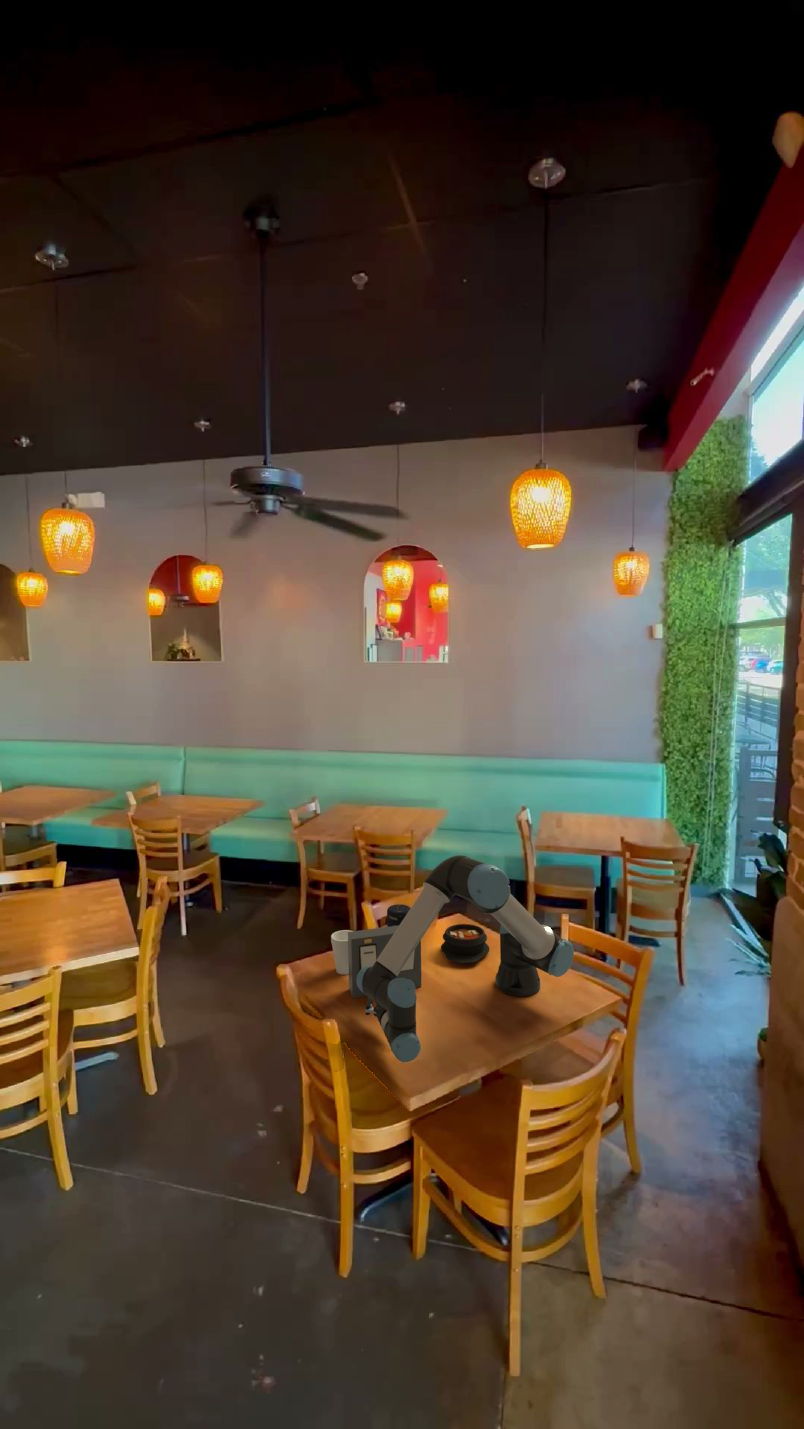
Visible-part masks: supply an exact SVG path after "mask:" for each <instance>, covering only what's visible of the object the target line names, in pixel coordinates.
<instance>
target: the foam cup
mask: <svg viewBox="0 0 804 1429" xmlns="http://www.w3.org/2000/svg"><path fill="white" fill-rule="evenodd" d="M353 931H354V930H350V929H343V930H338V931H335V932H332V934H331V935H330V942H331V946H332V952H333V959H334V965H335V971H336V973H337V974H339V975H349V965H348V932H353Z"/></svg>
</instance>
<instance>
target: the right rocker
mask: <svg viewBox="0 0 804 1429" xmlns="http://www.w3.org/2000/svg"><path fill="white" fill-rule="evenodd" d="M414 951H415V950H414ZM414 951H413V953H412V954H411V956H410V957H409V959H408V960H407V962H406V964H405V965H404V967H403V968H402V970H401V971H404V970H410V969H413V965H414Z"/></svg>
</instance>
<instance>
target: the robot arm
mask: <svg viewBox="0 0 804 1429" xmlns="http://www.w3.org/2000/svg"><path fill="white" fill-rule="evenodd" d="M509 884H510V880H509V876H508V875H507V874H506V872H505V871H504V870H502V869H501V868H499V867H497V866H496V865H494V864H492V863H491V864H490V863H485V862H482V861H481V860H477V859H474V858H470V857H469V856H466V855H463V854H462V855H458V854H457V855H453V856H450V857H447V858H445V860H443V861H441V862H440V863H439V864H438V865H436V866H435V867H434V868H433V869H432V871H431V872H430V873H429V874H428V876H427V877H426V878H425V880H424V882H423V883H422V885H423V889H422V891H421V892H420V893H419V895H418V896H417V898H416V900H415V901H414V902H413V903H412V906H411V907H410V908H411V909H410V910H409V912H408V913H407V915H406V916H405V918H404V919H403V921H402V922H401V924H400V925H399V927H398V928H397V930H396V931H395V933H394V934H393V936H392V937H391V939H390V940H389V942H388V943H387V945H386V946H385V948H384V949H383V951H382V952H381V954H380V955H379V957H378V958H377V960H376V962H375V963H374V965H373V966H370V965H368V966H365V967H364V968H363V969H361V970H360V971H359V973H358V975H357V986H358V988H359V989H360V990H361V991H362V992H363V993H364V994H365V995H366V996H365V997H367V1003H365V1004H366V1005H365V1015H366V1016H370V1015H371V1014H373V1016H375V1017H376V1019H377V1021H378V1023H379V1025H380V1028H381V1030H382V1031H383V1034H384V1036H385V1038H386V1041H387V1042H388V1045H389V1048H390V1051H391V1053H392V1054H393V1056H394V1057H395V1058H396V1059H397V1060H398V1061H399V1062H400V1063H401V1062H402V1063H410V1062H412V1061H413V1060H415V1059H417V1057H418V1056H419V1054H420V1052H421V1046H422V1045H421V1042H420V1038H419V1036H418V1035H417V994H416V993H417V992H416V988H415V984H414V982H413V981H411V980H410V979H405V978H397V976H398V974H399V973H400V971H401V970H402V968H403V967H404V965H405V964H406V962H407V960H408V959H409V957H410V956H411V954H412V953H413V951H414V950H415V948H416V947H417V945H418V943H419V942H420V940H421V941H422V938H424V935H425V934H426V932H427V931H428V930H429V928H430V926H431V924H432V923H433V922H434V920H435V919H436V917H437V916H438V914H439V913H440V911H441V909H442V908H443V906H444V905H445V904H447V903H450V902H451V900H452V899H453V898H454V896H458V897H460V898H463V899H465V900H467V901H468V902H470V903H471V904H472V905H473V906H474V907H475V908H476V909H477V910H479V912H481V913H482V914H484V915H491V917H493V918H494V919H495V920H496V921H497V922H498V923H499V924H500V928H499V929H500V931H499V946H500V947H499V949H500V962H499V966H498V969H497V973H496V974H495V981H494V983H495V987H496V988H497V989H498V991H500V992H502V993H503V994H506V995H509V996H513V997H515V996H516V997H528V996H532V995H533V996H534V994H537V993H538V992H539V991H540V989H541V978H540V975H539V972H538V970H541V971H543V972H544V973H547V974H548V975H549V976H553V977H556V978H559V977H563V975H566V973H567V972H568V971H569V970H570V968H571V965H572V963H573V961H574V955H575V954H574V953H575V951H574V947H573V944H572V942H570V941H569V940H567V939H566V938H564V939H563V938H562V937H560V936H559V935H557V933H555V931H554V930H552V929H551V927H549V926H547V925H545V924H540V923H539V922H538V921H537V919H535V918H534V916H533V915H532V914H531V913H530V912H529V911H528V910H527V909H526V908H525V907H524V906H523V905H522V904H521V902H519V901H518V900H517V898H515V897H514V895H512V894H511V885H509ZM372 1002H374V1003H375V1004H376V1005H375V1007H374V1006H373V1003H372Z"/></svg>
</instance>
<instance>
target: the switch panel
mask: <svg viewBox="0 0 804 1429" xmlns="http://www.w3.org/2000/svg"><path fill="white" fill-rule="evenodd" d="M398 927H399V926H391V927H387V926H384V927H377V928H370V929H362V930H352V931H353V932H348V965H349V974H348V989H349V992H350V995H351V998H352V999H354V998H359V997H361V998H362V997H367V996H366V995H365V994H364V993H363V992H362V991H361V990H360V989H359V988H358V986H357V975H358V973H359V971H360V970H361V958H360V946H368V945H375V946H376V960H377V958H378V957H379V955H380V954H381V952H382V951H383V949H384V948H385V946H386V945H387V943H388V942H389V940H390V939H391V937H392V936H393V934H394V933H395V931H396V930H397V928H398ZM397 978H405V979H410V980H411V981H413V982H414V984H415V989H417V988H421V987H422V939H421V940H420V942H419V943H418V945H417V947H416V948H415V951H414V965H413V969H410V970H404V971H400V973H399V974H398V976H397Z"/></svg>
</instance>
